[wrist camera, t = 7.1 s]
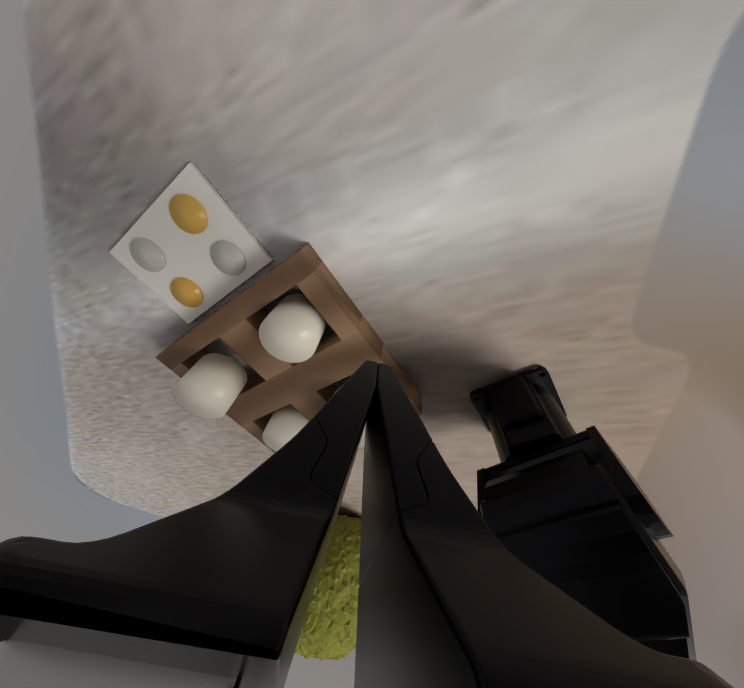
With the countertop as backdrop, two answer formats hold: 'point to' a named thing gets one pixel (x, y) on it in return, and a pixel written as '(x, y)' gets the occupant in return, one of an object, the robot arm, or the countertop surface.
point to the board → (278, 378)
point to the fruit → (334, 596)
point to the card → (190, 247)
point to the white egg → (292, 329)
